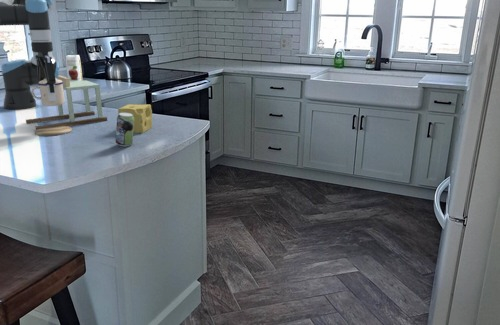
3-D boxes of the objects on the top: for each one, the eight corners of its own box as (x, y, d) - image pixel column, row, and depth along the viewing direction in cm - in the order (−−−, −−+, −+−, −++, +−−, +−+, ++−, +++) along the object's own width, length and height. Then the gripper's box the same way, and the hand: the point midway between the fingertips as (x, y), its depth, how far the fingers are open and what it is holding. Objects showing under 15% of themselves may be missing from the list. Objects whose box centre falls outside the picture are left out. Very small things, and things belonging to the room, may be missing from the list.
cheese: (143, 133, 191) (141, 109, 188) (118, 132, 193) (116, 108, 190) (153, 127, 201) (151, 104, 198) (129, 126, 203) (127, 103, 200)
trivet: (31, 131, 196) (30, 129, 196) (65, 126, 204) (65, 124, 204) (40, 137, 186) (40, 135, 185) (76, 132, 194) (76, 130, 193)
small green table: (58, 115, 218) (53, 75, 212) (89, 111, 226) (84, 72, 220) (71, 122, 204) (65, 79, 199) (102, 117, 212) (98, 76, 207)
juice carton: (70, 83, 322) (67, 54, 316) (83, 83, 323) (80, 54, 317) (67, 85, 315) (64, 55, 309) (81, 84, 316) (77, 55, 310)
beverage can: (117, 143, 177) (114, 111, 174) (137, 142, 178) (135, 111, 174) (114, 148, 171) (111, 115, 168) (135, 147, 172) (132, 114, 168)
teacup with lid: (65, 101, 198) (62, 73, 194) (65, 105, 190) (61, 75, 186) (34, 103, 194) (30, 74, 190) (32, 107, 186) (28, 77, 182)
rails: (26, 123, 210) (25, 119, 210) (93, 114, 227) (92, 111, 227) (36, 130, 197) (36, 127, 196) (107, 120, 214) (106, 117, 213)
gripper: (24, 40, 190) (32, 96, 197) (38, 43, 173) (47, 104, 180) (43, 39, 194) (51, 94, 201) (59, 42, 178) (67, 101, 185)
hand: (49, 99), depth 191 cm, fingers closed on teacup with lid, 9 cm apart
